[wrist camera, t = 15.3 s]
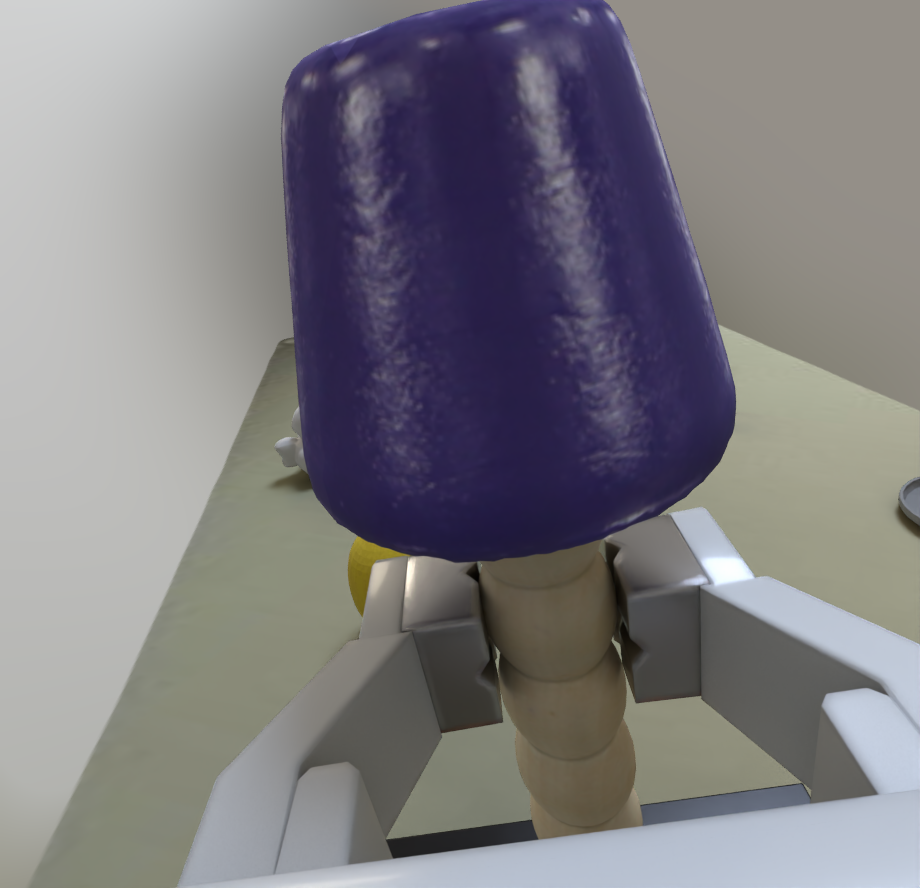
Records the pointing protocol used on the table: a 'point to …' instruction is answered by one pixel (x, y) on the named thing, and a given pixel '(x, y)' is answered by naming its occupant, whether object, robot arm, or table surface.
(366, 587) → the lemon
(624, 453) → the toy lamp
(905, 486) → the pocket watch
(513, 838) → the stove
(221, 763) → the table surface
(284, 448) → the rubber duck
